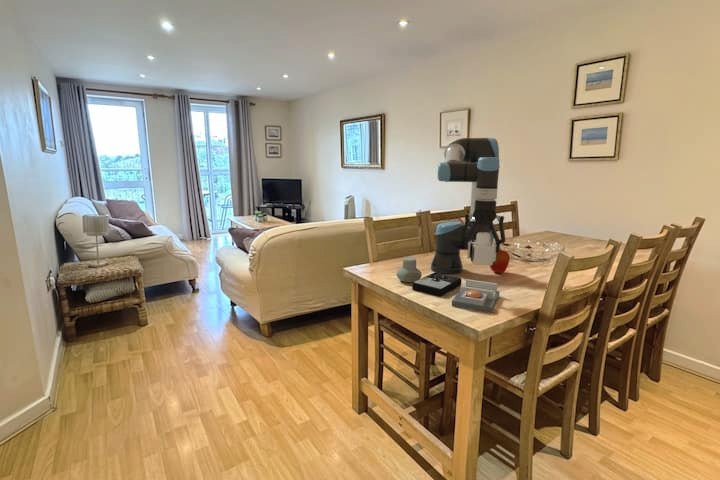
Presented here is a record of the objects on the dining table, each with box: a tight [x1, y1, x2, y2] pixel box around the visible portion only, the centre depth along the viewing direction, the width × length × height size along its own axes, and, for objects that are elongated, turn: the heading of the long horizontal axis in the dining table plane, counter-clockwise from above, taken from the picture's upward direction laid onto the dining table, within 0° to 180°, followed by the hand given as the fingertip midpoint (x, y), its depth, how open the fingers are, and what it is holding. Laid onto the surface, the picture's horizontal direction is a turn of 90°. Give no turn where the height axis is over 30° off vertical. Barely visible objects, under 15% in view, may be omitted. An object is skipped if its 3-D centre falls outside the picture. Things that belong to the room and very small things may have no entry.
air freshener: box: [396, 257, 422, 284], centre depth 165 cm, size 11×8×10 cm
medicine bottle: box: [469, 231, 494, 266], centre depth 142 cm, size 7×7×12 cm
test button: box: [467, 290, 481, 299], centre depth 137 cm, size 5×5×2 cm
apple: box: [489, 249, 511, 274], centre depth 178 cm, size 9×9×12 cm
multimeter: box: [411, 272, 463, 298], centre depth 157 cm, size 13×19×5 cm
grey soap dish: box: [451, 278, 500, 314], centre depth 142 cm, size 14×19×5 cm
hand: (481, 259), depth 143 cm, fingers closed on medicine bottle, 8 cm apart
